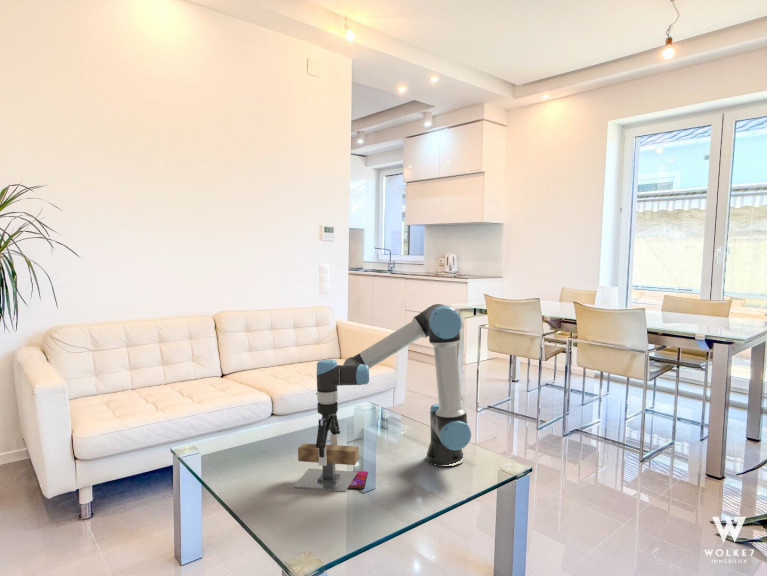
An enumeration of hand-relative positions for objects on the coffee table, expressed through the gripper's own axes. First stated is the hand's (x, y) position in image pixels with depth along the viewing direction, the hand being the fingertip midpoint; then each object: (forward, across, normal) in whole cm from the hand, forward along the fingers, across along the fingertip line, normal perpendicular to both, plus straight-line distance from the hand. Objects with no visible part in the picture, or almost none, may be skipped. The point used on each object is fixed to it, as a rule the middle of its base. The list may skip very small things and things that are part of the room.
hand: (328, 458), depth 180 cm
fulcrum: (+8, 0, 0) cm, 8 cm away
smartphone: (+9, -2, +10) cm, 14 cm away
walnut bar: (+1, 0, 0) cm, 1 cm away
